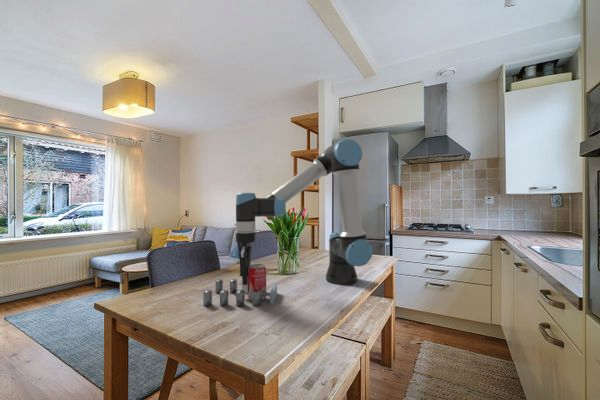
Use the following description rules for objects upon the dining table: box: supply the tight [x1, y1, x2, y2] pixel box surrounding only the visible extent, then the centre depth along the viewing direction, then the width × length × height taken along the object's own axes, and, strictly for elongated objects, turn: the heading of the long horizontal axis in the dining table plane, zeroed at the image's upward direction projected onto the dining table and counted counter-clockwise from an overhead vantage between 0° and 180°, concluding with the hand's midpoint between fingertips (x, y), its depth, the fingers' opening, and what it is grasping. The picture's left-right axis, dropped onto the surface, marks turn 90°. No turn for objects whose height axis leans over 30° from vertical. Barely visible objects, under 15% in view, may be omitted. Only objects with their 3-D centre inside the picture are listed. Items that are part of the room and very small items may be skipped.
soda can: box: [247, 263, 267, 302], centre depth 105 cm, size 7×7×13 cm
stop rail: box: [269, 283, 278, 305], centre depth 106 cm, size 2×12×4 cm, turn 0°
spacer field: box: [202, 278, 262, 308], centre depth 106 cm, size 21×17×5 cm
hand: (245, 292), depth 106 cm, fingers closed
